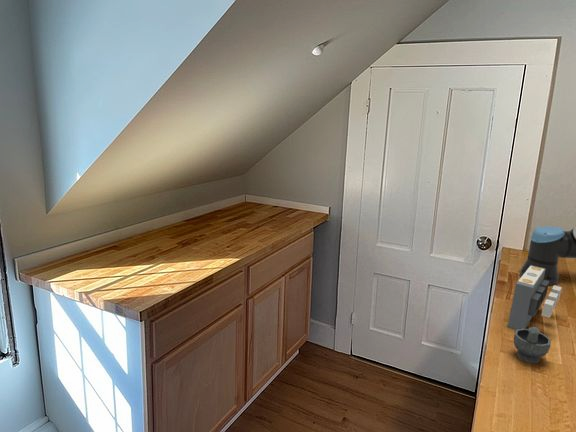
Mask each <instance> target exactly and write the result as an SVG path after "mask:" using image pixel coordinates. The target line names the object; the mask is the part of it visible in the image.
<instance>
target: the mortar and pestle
mask: <svg viewBox="0 0 576 432" xmlns="http://www.w3.org/2000/svg"><path fill="white" fill-rule="evenodd" d="M514 330H515V331H514V333H513V334H514V335H513V345H514V348H515V349H516V350H517V353H516V357H518V358H519V359H520V360H521V361H524V362H526V363H530V364H538V363H539V364H540V362H541V361H540V360H541V357H545V356H546V355H547V354H548V353H549V351H550V348H551V346H552V345H551V343H552V340H551V338H549V337H548V336H547V335H546V334H544V333H542V332H540V329H539V328H538V327H537V326H530V327H529V328H526V329H518V330H516V329H514Z"/></svg>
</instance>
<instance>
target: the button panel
mask: <svg viewBox="0 0 576 432" xmlns="http://www.w3.org/2000/svg"><path fill="white" fill-rule="evenodd" d="M545 270H546V269H545V268H541V267H536V266H532V265H530V267H529V268H528V269H527V270H526V272H525V273H524V274H523V275H522V277H521V276H520V278H519V279H518V280H517V282H516V283H515V287H514V292H513V296H512V297H513V298H512V303H511V308H510V313H509V317H508V322H507V328H509V329H513V330H518V329H527V327H528V325H529V324H530V322H531V320H532V318H533V317H536V315H537V313H538V310H539V309H540V308H541V306H542V304H543V302H545V300H546V297H547V294H548V293H547V292H548V287H549V286H550V285H549V281H547V280H543V279H544V275H545Z"/></svg>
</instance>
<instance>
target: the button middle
mask: <svg viewBox="0 0 576 432" xmlns="http://www.w3.org/2000/svg"><path fill="white" fill-rule="evenodd" d="M557 298H558V294H557V293H553V292H552V291H550V292H549V293H548V296H547V299H548V300H552V301H555V302H554V307H553V310H555V308H556V306H557V303H558V302H557Z"/></svg>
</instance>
